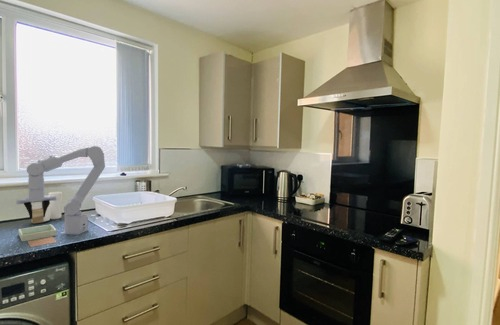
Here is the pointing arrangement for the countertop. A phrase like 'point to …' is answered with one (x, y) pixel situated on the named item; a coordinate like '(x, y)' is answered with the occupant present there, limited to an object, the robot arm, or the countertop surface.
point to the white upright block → (56, 205)
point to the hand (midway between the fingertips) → (37, 217)
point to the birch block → (37, 215)
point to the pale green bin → (37, 232)
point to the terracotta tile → (41, 241)
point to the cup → (39, 205)
